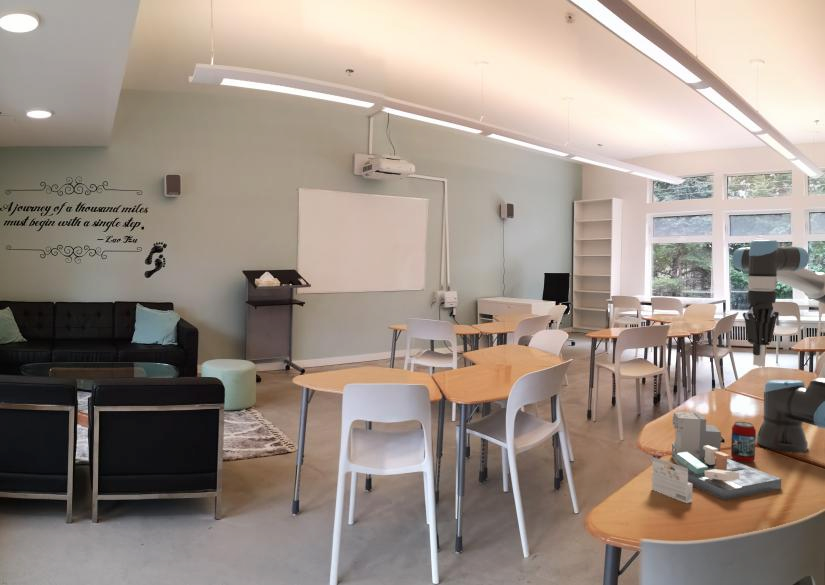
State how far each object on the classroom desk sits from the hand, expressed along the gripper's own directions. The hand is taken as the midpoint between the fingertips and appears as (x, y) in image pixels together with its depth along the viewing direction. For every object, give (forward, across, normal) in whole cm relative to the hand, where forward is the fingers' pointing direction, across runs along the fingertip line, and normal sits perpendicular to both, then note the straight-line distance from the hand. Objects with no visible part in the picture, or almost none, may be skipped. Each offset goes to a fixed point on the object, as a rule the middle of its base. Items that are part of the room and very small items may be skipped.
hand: (758, 365), depth 183 cm
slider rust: (+29, +21, +6) cm, 36 cm away
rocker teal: (+27, +28, +1) cm, 39 cm away
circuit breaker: (+33, +13, -10) cm, 36 cm away
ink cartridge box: (+33, +42, +8) cm, 54 cm away
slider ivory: (+29, +19, 0) cm, 35 cm away
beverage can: (+33, -2, -6) cm, 33 cm away
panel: (+32, +20, +6) cm, 39 cm away
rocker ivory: (+27, +28, +12) cm, 40 cm away
